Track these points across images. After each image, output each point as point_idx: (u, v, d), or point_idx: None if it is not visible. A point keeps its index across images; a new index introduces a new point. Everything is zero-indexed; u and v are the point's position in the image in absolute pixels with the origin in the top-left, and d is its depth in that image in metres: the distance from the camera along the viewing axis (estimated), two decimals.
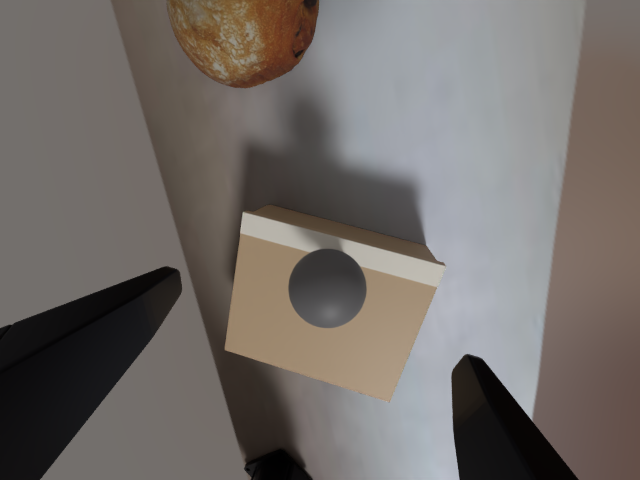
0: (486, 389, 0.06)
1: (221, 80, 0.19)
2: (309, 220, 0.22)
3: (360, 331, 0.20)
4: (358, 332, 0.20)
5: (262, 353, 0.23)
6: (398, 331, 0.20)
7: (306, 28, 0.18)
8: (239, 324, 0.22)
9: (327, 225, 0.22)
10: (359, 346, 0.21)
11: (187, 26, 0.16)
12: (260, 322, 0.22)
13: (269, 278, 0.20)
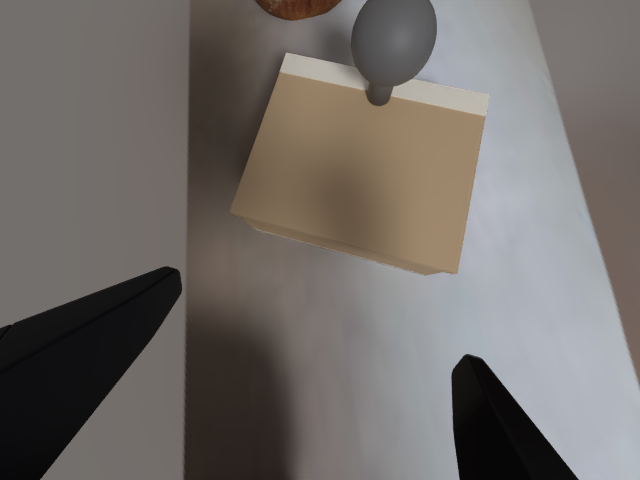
0: (486, 389, 0.06)
1: None
2: None
3: (409, 171, 0.17)
4: (407, 173, 0.17)
5: (282, 212, 0.17)
6: (453, 168, 0.17)
7: None
8: (258, 173, 0.18)
9: None
10: (410, 191, 0.17)
11: None
12: (286, 169, 0.18)
13: (304, 116, 0.18)
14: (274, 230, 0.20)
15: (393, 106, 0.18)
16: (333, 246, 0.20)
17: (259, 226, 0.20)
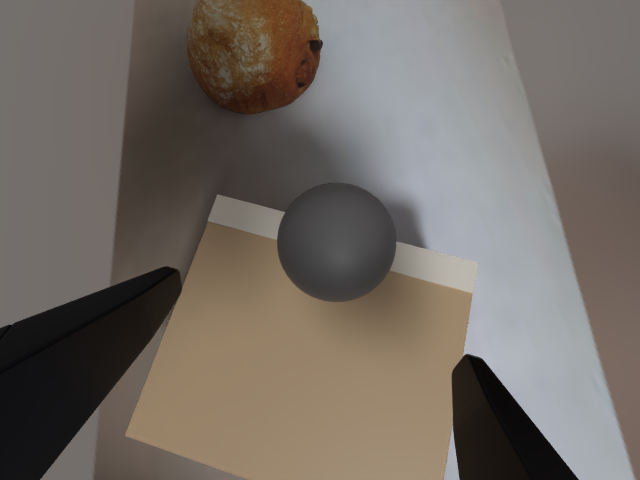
0: (486, 389, 0.06)
1: (222, 91, 0.20)
2: None
3: (371, 376, 0.13)
4: (368, 378, 0.13)
5: (197, 438, 0.12)
6: (430, 372, 0.13)
7: (310, 63, 0.20)
8: (168, 374, 0.13)
9: None
10: (371, 408, 0.13)
11: (203, 33, 0.18)
12: (207, 368, 0.13)
13: (235, 287, 0.14)
14: None
15: None
16: None
17: None
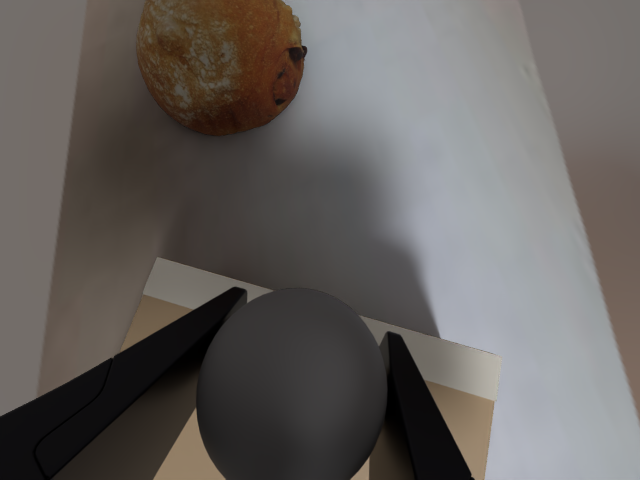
0: (393, 361, 0.07)
1: (182, 111, 0.16)
2: None
3: None
4: None
5: None
6: None
7: (290, 76, 0.17)
8: None
9: None
10: None
11: (152, 41, 0.14)
12: None
13: None
14: None
15: None
16: None
17: None
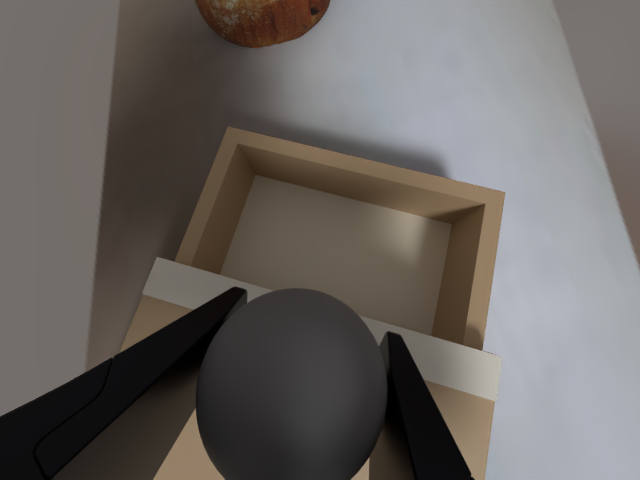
0: (392, 361, 0.07)
1: (227, 14, 0.17)
2: None
3: None
4: None
5: None
6: None
7: None
8: None
9: None
10: None
11: None
12: None
13: None
14: None
15: None
16: None
17: None
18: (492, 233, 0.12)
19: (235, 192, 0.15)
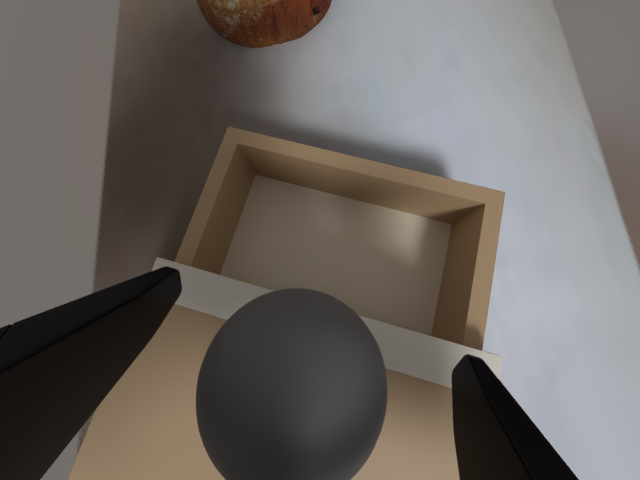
0: (486, 389, 0.06)
1: (228, 14, 0.17)
2: None
3: None
4: None
5: None
6: None
7: None
8: None
9: None
10: None
11: None
12: None
13: (175, 388, 0.10)
14: None
15: None
16: None
17: None
18: (492, 233, 0.12)
19: (235, 192, 0.15)
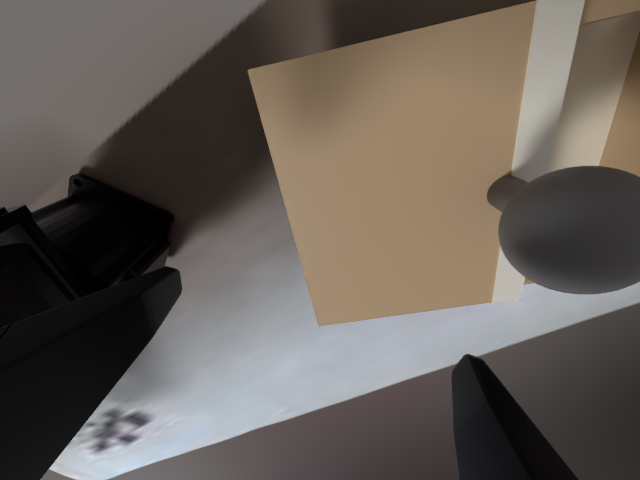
0: (486, 389, 0.06)
1: None
2: None
3: (403, 262, 0.15)
4: (401, 261, 0.15)
5: (289, 150, 0.12)
6: (421, 295, 0.16)
7: None
8: (326, 80, 0.11)
9: None
10: (380, 270, 0.15)
11: None
12: (351, 121, 0.12)
13: (448, 102, 0.11)
14: None
15: (489, 215, 0.14)
16: None
17: None
18: None
19: (637, 11, 0.12)
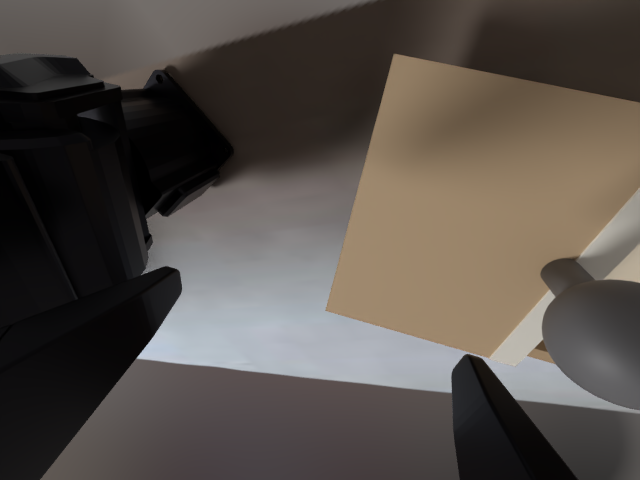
0: (486, 389, 0.06)
1: None
2: None
3: (432, 290, 0.15)
4: (431, 289, 0.15)
5: (389, 147, 0.12)
6: (430, 325, 0.17)
7: None
8: (461, 98, 0.10)
9: None
10: (408, 288, 0.16)
11: None
12: (462, 147, 0.11)
13: (561, 170, 0.11)
14: None
15: (533, 285, 0.14)
16: None
17: None
18: None
19: None
